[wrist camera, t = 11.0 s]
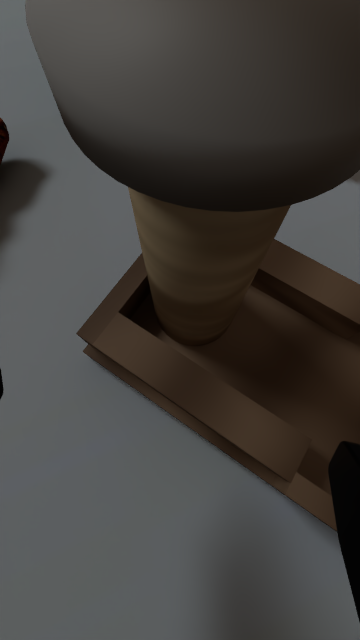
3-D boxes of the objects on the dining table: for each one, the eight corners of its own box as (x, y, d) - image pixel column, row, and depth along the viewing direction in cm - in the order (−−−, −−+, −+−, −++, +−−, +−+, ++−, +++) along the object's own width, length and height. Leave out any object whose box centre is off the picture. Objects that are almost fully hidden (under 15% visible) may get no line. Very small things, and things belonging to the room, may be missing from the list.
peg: (197, 386, 16) (270, 237, 3) (116, 309, 17) (-60, -9, 4) (271, 306, 17) (525, -17, 5) (191, 241, 18) (216, -143, 6)
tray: (500, 391, 16) (567, 384, 14) (433, 600, 13) (501, 647, 11) (192, 221, 20) (194, 188, 17) (88, 355, 17) (69, 341, 14)
